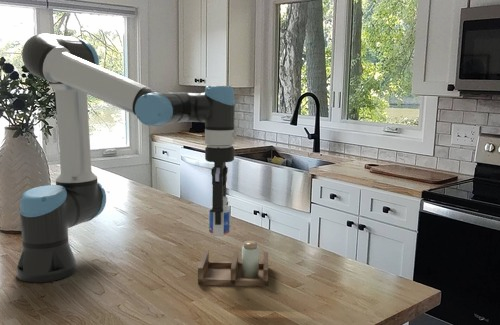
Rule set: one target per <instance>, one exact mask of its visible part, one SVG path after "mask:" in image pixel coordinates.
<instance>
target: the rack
mask: <svg viewBox="0 0 500 325" xmlns="http://www.w3.org/2000/svg"><path fill="white" fill-rule="evenodd" d="M209 256H210V254H209V250H204V251H203V253H202V256H201V259H200V261H199V263H198V266H197V285H199V286H200V285H203V286H204V285H205V286H207V285H208V286H232V287H233V286H237V287H239V286H241V287H269V252H268V251H267V252H266V251H264V252H263V262H262V261H261V262H260V261H259V276H258V278H255V279H245V278H243V277H242V261H239V251H233V255H232V259H231V260H232V261H227V260H225V261H224V260H210V258H209Z"/></svg>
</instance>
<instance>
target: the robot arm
mask: <svg viewBox="0 0 500 325" xmlns="http://www.w3.org/2000/svg"><path fill="white" fill-rule="evenodd" d="M21 58H22V62H23V65H24V67H25V68H26V70H28V71H29V72H30V73H31V74H32V75H34V76H36V77H38V78H39V79H43V80H45V81H47V82H48V85H49V86H50V87H51V89H53V90H54V92H55V107H56V108H55V109H56V122H57V136H58V152H59V165H60V174H59V175H58V176H57V178H55V184H47V185H43V186H36V187H33V188H29V189H28V190H26V191H24V192H23V193H22V195H21V196H20V199H19V205H20V206H19V213H20V214H19V215H20V228H21V242H22V244H21V245H22V249H21V252H20V255H19V258H18V263H17V265H16V277H17V278H18V279H19V280H20V281H23V282H26V283H48V282H54V281H58V280H62V279H64V278H67V277H70V276H71V275H72V274H74V273H75V272H76V271H77V260H76V258H75V255H74V252H73V251H72V248H71V246H70V243H69V242H70V241H69V229H70V228H72V227H75V226H77V225H79V224H80V225H81V224H82V223H83V224H84V223H87V222H89V221H92V220H93V219H94V218H97V217H99V215H100V214H102V212H103V211H104V210H105V207H106V204H107V194H106V191H105V189H104V187H103V185H102V184H101V183H100V182H98V176H97V175H96V174H94V173H93V171H92V159H91V158H92V156H91V142H90V141H91V140H90V123H89V107H88V106H89V104H88V95H89V96H91V97H93V98H95V99H98V100H100V101H101V102H102V101H103V102H105V103H106V104H109V105H111V106H113V107H116V108H119V109H120V110H122V111H125V112H127V113H130V114H132V115H133V116H136V117H137V119H138V121H139V122H141V123H142V124H143V125H145V126H149V127H150V126H151V127H160V126H163V125H170V124H177V123H185V122H187V123H188V122H189V123H191V122H194V123H204V127H205V128H204V144H205V145H206V146H205V148H204V152H205V153H204V159H205V161H206V162H208V163H213V167H212V168H211V174H210V175H211V181H212V182H211V185H212V201H211V204H212V210H210V209H209V210H210V212H213V235H212V237H224V211H223V196H224V197H227V181H228V172H229V167H227V165H226V163H230V162H231V163H232V162H233V161H234V160H235V147H234V146H233V145H234V144H235V138H236V137H237V135H238V134H237V133H236V132H235V109H236V107H235V106H236V101H235V90H234V88H233V87H232V86H231V85H206V86H205V87H204V88H205V89H204V92H200V93H197V92H180V91H174V92H173V91H172V92H161V91H159V90H157V89H154V88H151V87H149V86H147V85H145V84H142V83H140V82H137V81H135V80H132V79H130V78H128V77H126V76H124V75H121V74H118V73H116V72H114V71H112V70H109V69H106V68H104V67H102V66H99V65H100V60H99V55H98V52H97V50H96V49H95V47H94V45H92V44H91V43H90V42H89V41H87V40H85V39H83V38H79V37H76V36H66V35H61V34H60V35H58V34H52V33H38V34H35V35H33V36H31V37H30V38H28V39H27V41H26V42H25V43H24V45H23V48H22V50H21ZM226 205H228V206H229V201H228V202H227V204H226Z"/></svg>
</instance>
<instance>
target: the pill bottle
mask: <svg viewBox="0 0 500 325" xmlns="http://www.w3.org/2000/svg"><path fill="white" fill-rule="evenodd" d="M227 202H228V203H229V201H228V196H226V197H224V196H223V211H224V236H227V235H229V234H230V219H231V218H230V217H231V216H230V214H231V212H230V210H231V209H230V208H231V207H230V206H229V204H228V205H226V204H227ZM210 210H212V205H210V206H209V214H208V215H209V217H208V218H209V219H208V220H209V221H208V222H209V224H208V225H209V226H208V229H209V230H208V233H209V234H210V235H212V236H213V212H210ZM224 236H223V237H224Z"/></svg>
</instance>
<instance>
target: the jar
mask: <svg viewBox="0 0 500 325" xmlns="http://www.w3.org/2000/svg"><path fill="white" fill-rule="evenodd" d="M241 262H242V277H243V278H245V279H255V278H258V276H259V262H260V247H259V246H258V242H257V241H255V240H246V241H244V242H243V245H242V246H241Z"/></svg>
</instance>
